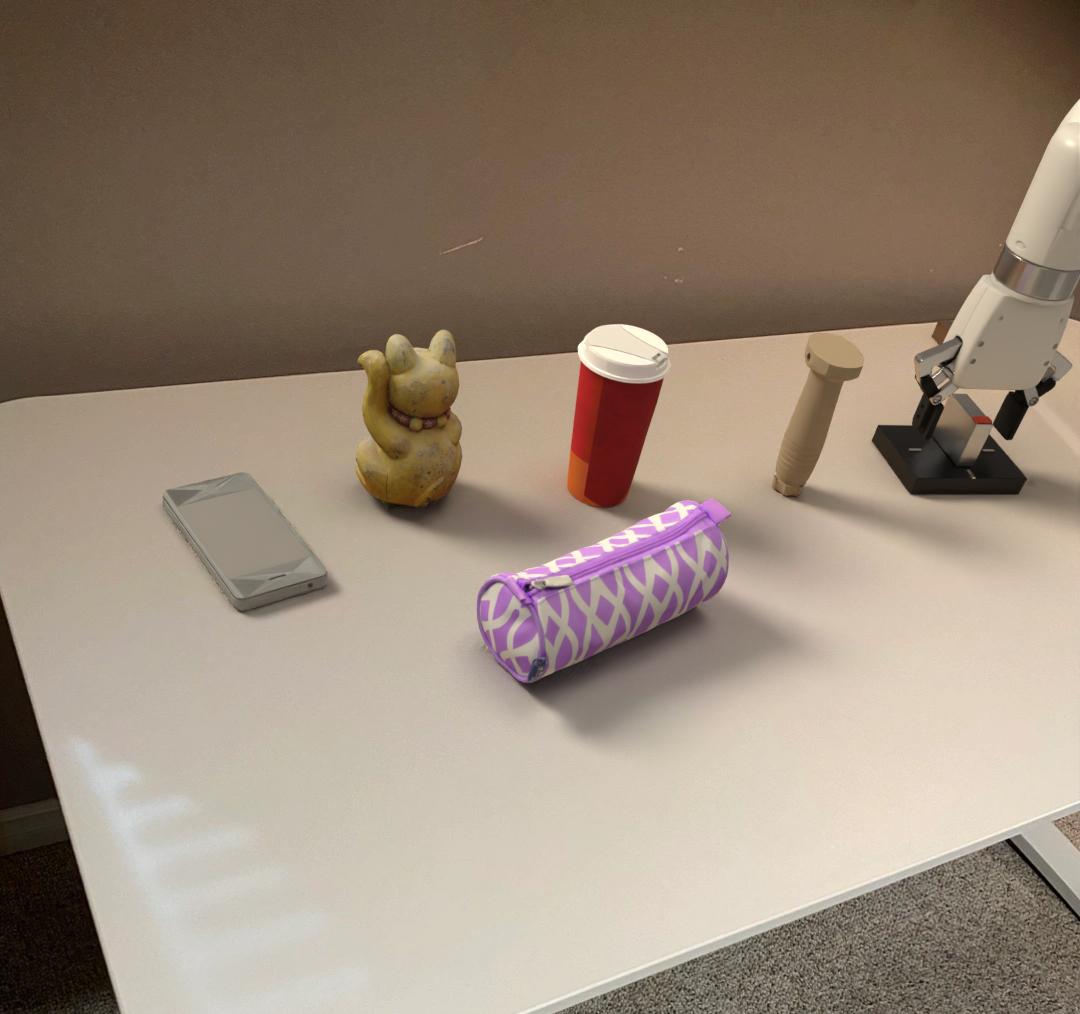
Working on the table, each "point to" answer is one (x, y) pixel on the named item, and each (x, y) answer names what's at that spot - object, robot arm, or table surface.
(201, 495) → the phone
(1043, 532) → the table surface
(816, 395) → the handle
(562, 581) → the pencil case
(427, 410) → the decorative figurine
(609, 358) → the coffee cup
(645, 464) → the table surface
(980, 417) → the tap handle
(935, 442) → the base
